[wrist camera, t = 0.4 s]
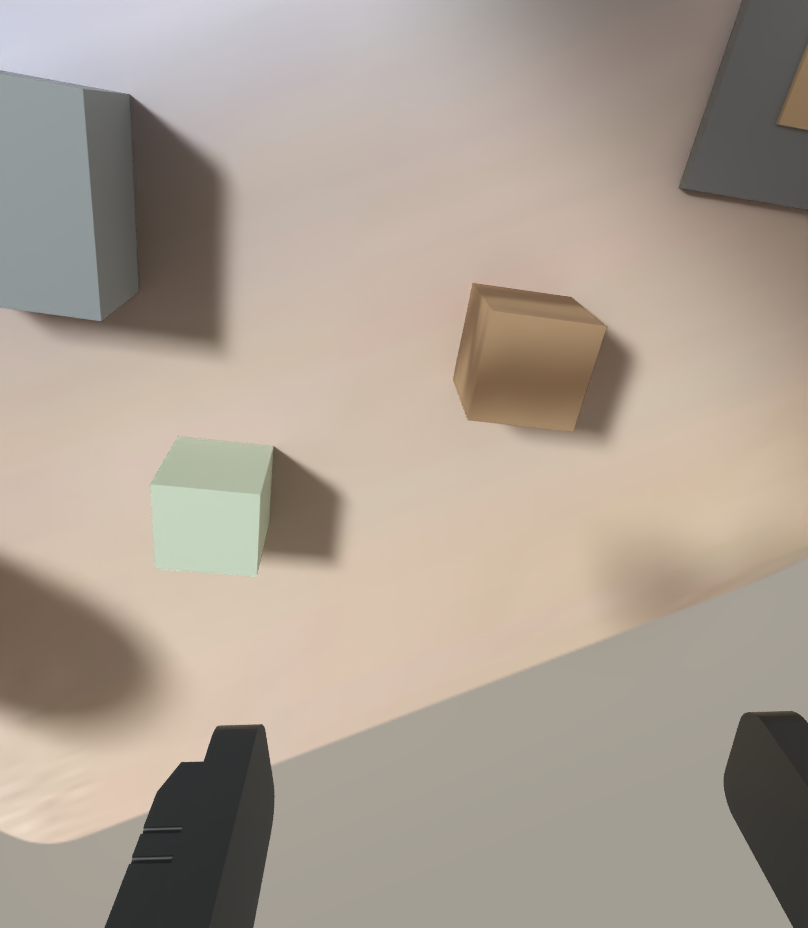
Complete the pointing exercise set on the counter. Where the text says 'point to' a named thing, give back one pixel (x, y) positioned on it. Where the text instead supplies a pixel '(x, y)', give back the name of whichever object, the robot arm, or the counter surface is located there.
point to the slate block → (66, 198)
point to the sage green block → (212, 506)
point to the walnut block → (525, 357)
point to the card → (758, 110)
